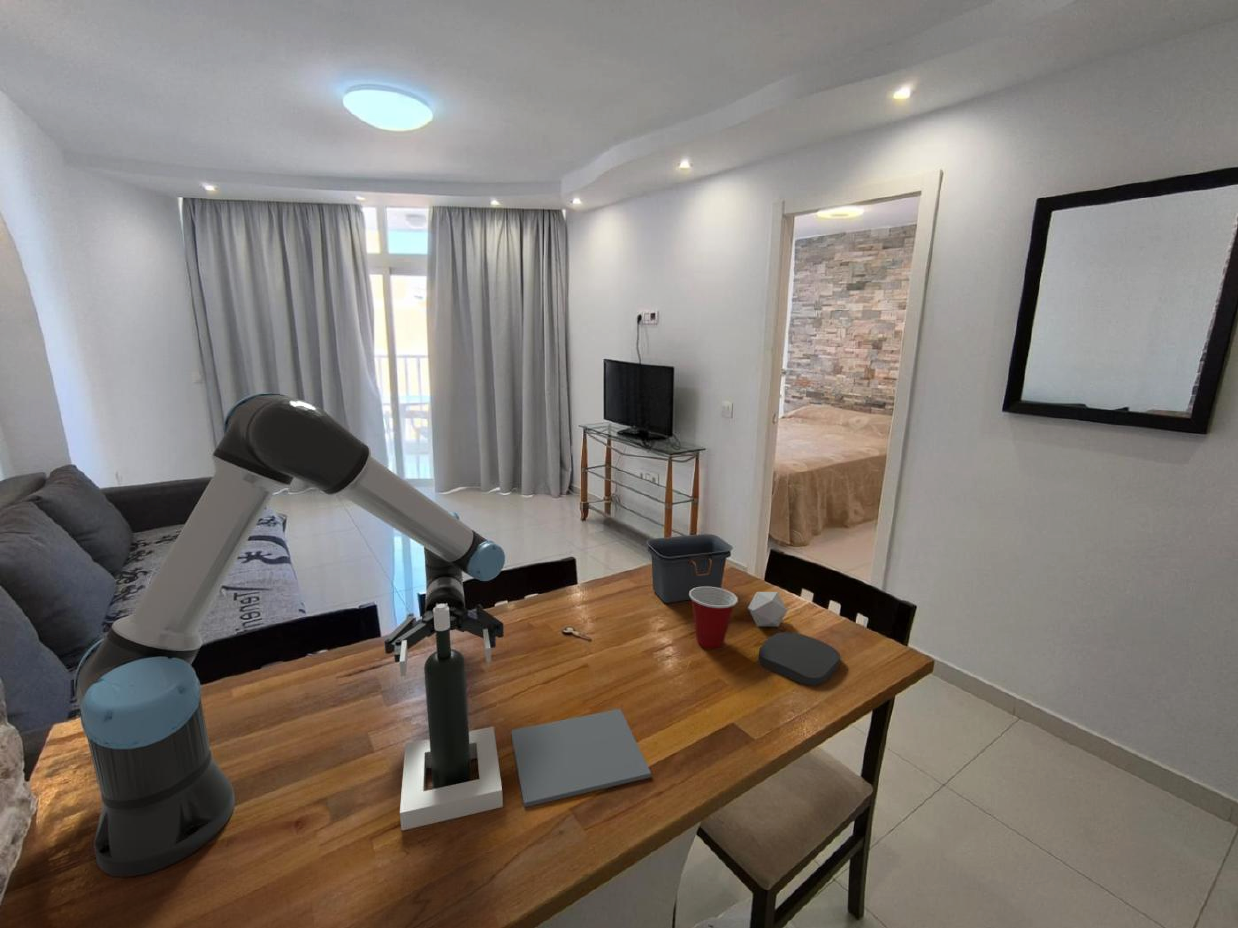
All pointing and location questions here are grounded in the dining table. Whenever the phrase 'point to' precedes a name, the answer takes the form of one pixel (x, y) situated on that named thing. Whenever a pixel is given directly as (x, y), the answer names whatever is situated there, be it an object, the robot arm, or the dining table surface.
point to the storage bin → (687, 564)
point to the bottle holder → (454, 798)
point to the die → (767, 609)
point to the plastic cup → (711, 614)
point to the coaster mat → (576, 756)
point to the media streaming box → (799, 658)
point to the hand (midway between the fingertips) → (446, 662)
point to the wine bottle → (447, 707)
